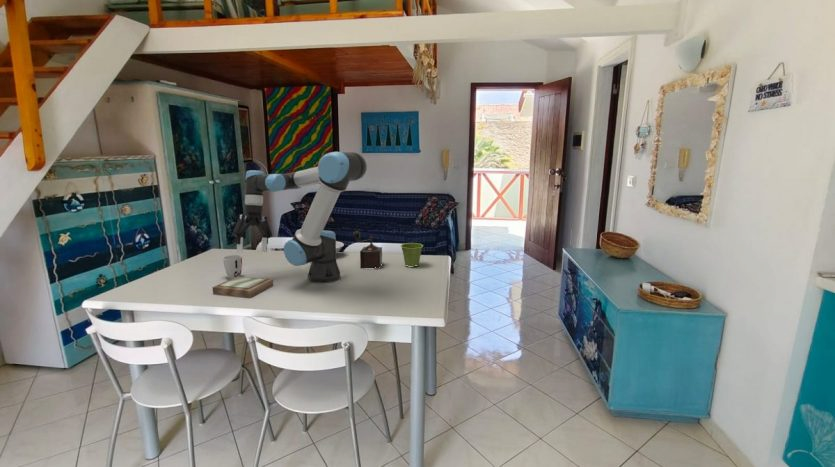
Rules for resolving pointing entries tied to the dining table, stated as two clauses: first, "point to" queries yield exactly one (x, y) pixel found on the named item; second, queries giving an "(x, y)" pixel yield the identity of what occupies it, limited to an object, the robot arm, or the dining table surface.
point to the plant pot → (411, 253)
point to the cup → (233, 265)
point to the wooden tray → (243, 286)
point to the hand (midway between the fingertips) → (252, 251)
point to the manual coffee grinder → (369, 254)
